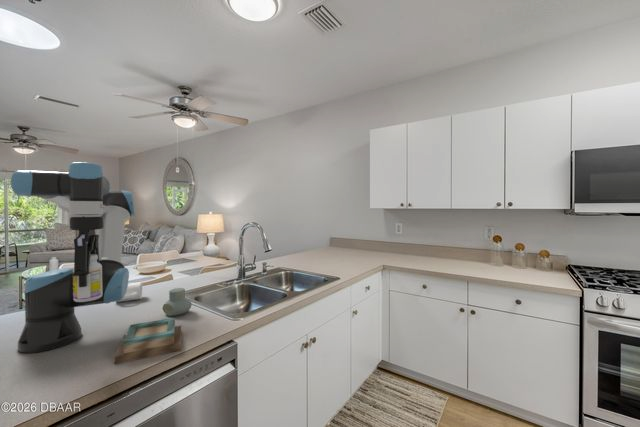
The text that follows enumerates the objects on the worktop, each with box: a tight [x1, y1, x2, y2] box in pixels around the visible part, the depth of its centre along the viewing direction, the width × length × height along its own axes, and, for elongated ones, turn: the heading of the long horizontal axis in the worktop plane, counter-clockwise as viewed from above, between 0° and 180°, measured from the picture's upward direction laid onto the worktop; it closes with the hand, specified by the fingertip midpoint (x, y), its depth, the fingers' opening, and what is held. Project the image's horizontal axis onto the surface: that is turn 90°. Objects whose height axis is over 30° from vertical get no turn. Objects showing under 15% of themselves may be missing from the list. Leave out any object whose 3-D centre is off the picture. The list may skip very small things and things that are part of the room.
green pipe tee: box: [162, 287, 193, 317], centre depth 116 cm, size 11×8×10 cm
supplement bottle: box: [72, 254, 103, 302], centre depth 81 cm, size 7×7×13 cm
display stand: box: [113, 317, 182, 365], centre depth 89 cm, size 17×15×6 cm
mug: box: [115, 282, 143, 303], centre depth 131 cm, size 12×10×8 cm
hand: (88, 293), depth 81 cm, fingers closed on supplement bottle, 7 cm apart
